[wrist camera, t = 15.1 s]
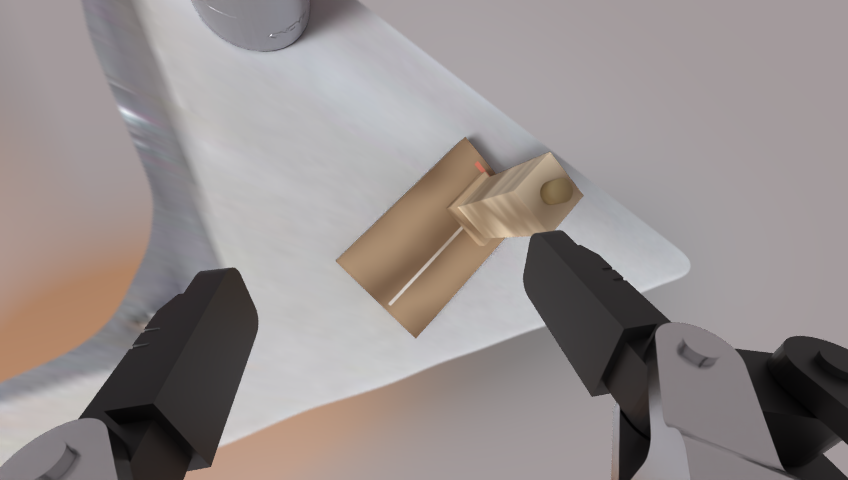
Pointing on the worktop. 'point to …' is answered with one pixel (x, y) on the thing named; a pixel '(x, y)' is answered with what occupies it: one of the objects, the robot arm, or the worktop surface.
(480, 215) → the pale wood tall block
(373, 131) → the worktop surface
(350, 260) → the plank
